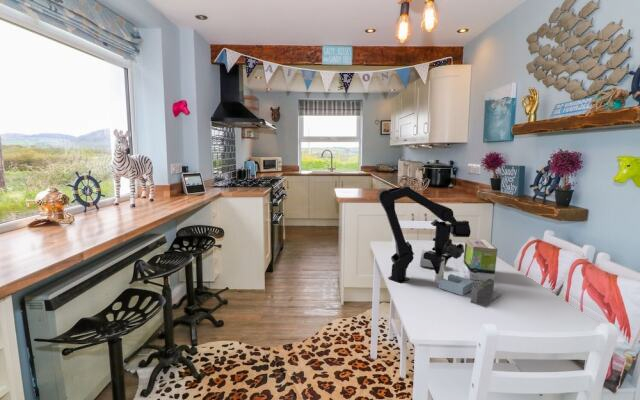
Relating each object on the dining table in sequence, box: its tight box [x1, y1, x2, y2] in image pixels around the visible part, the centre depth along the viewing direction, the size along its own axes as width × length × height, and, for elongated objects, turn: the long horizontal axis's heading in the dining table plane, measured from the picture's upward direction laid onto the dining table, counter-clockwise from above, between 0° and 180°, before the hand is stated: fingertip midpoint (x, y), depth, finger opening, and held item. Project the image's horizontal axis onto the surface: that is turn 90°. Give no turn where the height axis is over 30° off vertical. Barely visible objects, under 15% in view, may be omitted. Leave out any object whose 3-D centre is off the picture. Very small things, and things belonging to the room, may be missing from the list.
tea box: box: [462, 238, 498, 282], centre depth 151 cm, size 15×10×15 cm, turn 168°
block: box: [438, 273, 475, 296], centre depth 136 cm, size 10×10×3 cm
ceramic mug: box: [419, 249, 434, 269], centre depth 162 cm, size 11×8×8 cm
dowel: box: [434, 257, 445, 283], centre depth 143 cm, size 3×3×10 cm
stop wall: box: [470, 279, 503, 308], centre depth 127 cm, size 16×5×5 cm, turn 134°
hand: (439, 272), depth 144 cm, fingers open, 4 cm apart
